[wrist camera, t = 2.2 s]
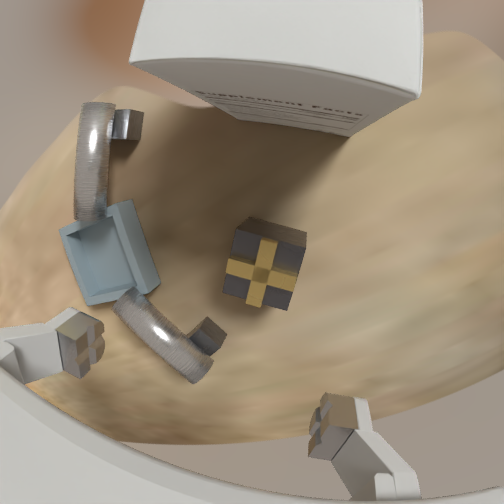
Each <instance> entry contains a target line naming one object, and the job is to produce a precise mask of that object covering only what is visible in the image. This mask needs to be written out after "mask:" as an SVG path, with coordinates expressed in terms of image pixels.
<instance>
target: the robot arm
mask: <svg viewBox="0 0 504 504" xmlns="http://www.w3.org/2000/svg"><path fill="white" fill-rule="evenodd" d="M103 332H104V324H103V323H102V322H101V321H100V320H97V319H95V318H93V317H91V316H89V315H87V314H85V313H83V312H81V311H79V310H77V309H75V308H73V307H69V308H67V309H66V310H64V311H63V312H61V313H60V314H59V315H57V316H56V317H54V318H53V319H51V320H50V321H48V322H47V323H46V324H43V323H37V324H29V325H22V326H14V327H7V328H0V504H504V487H499V486H497V487H492V488H488V489H483V490H479V491H474V492H469V493H464V494H458V495H451V496H445V497H437V498H428V499H422V497H421V492H420V488H419V483H418V478H417V474H416V472H415V471H414V470H413V469H412V468H411V467H410V466H409V465H408V464H407V463H406V462H405V461H404V460H403V459H402V458H401V457H400V456H399V455H398V454H397V453H396V451H394V449H393V448H392V447H391V446H390V445H389V444H388V443H387V442H386V441H385V440H384V439H383V438H382V437H381V436H380V435H379V434H378V433H377V432H373V427H372V422H371V417H370V412H369V407H368V402H367V400H366V399H364V398H357V397H348V396H343V395H337V394H332V393H326V392H325V393H324V395H323V396H322V398H321V400H320V407H318V408H316V409H315V411H314V413H313V415H312V418H311V421H310V426H309V434H310V435H311V436H312V438H311V439H310V441H309V446H308V457H312V458H317V459H324V460H330V461H331V463H332V464H333V466H334V468H335V469H336V471H337V473H338V474H339V476H340V478H341V479H342V481H343V483H344V484H345V486H346V487H347V489H348V491H349V492H350V494H351V496H352V498H351V499H350V500H332V499H321V498H312V497H304V496H296V495H289V494H283V493H277V492H272V491H266V490H261V489H256V488H251V487H247V486H243V485H238V484H234V483H231V482H227V481H223V480H219V479H216V478H212V477H209V476H206V475H202V474H199V473H196V472H193V471H190V470H187V469H184V468H181V467H178V466H175V465H173V464H170V463H167V462H165V461H162V460H160V459H157V458H155V457H152V456H150V455H147V454H145V453H143V452H140V451H138V450H136V449H134V448H131V447H129V446H127V445H125V444H123V443H120V442H118V441H116V440H114V439H112V438H110V437H108V436H106V435H104V434H102V433H101V432H99V431H97V430H95V429H93V428H91V427H89V426H88V425H86V424H84V423H82V422H80V421H79V420H77V419H75V418H74V417H72V416H70V415H68V414H67V413H65V412H64V411H62V410H60V409H59V408H57V407H56V406H54V405H53V404H51V403H49V402H48V401H46V400H45V399H43V398H42V397H41V396H39V395H38V394H36V393H35V392H33V391H32V390H31V389H29V388H28V387H26V386H25V384H27V383H30V382H33V381H36V380H39V379H42V378H45V377H48V376H51V375H53V374H56V373H59V372H62V371H63V370H64V371H66V372H68V373H70V374H72V375H74V376H75V377H77V378H79V379H82V378H83V376H84V375H85V374H86V373H87V372H88V371H89V370H90V364H94V363H97V362H98V361H99V360H100V359H101V357H102V355H103V353H104V349H105V341H104V339H103V337H102V335H101V334H102V333H103Z"/></svg>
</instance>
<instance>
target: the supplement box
mask: <svg viewBox="0 0 504 504" xmlns="http://www.w3.org/2000/svg"><path fill="white" fill-rule="evenodd" d="M422 7H423V6H422V0H145V2H144V6H143V9H142V13H141V16H140V19H139V23H138V27H137V31H136V34H135V39H134V42H133V46H132V51H131V55H130V59H129V64H130V65H133V66H135V67H137V68H139V69H142V70H144V71H146V72H148V73H150V74H152V75H155V76H157V77H159V78H161V79H163V80H165V81H167V82H169V83H171V84H173V85H175V86H177V87H179V88H181V89H184V90H186V91H187V92H189V93H191V94H193V95H195V96H197V97H199V98H201V99H202V100H205V101H206V102H208V103H210V104H212V105H214V106H215V107H217V108H219V109H221V110H223V111H224V112H226V113H228V114H230V115H232V116H233V117H235V118H237V119H239V120H246V121H254V122H263V123H271V124H278V125H285V126H292V127H298V128H304V129H310V130H316V131H321V132H327V133H332V134H337V135H342V136H347V137H351V136H352V135H354V134H355V133H357V132H359V131H360V130H362V129H364V128H365V127H367V126H369V125H370V124H372V123H374V122H375V121H377V120H379V119H380V118H382V117H384V116H386V115H387V114H389V113H391V112H392V111H394V110H396V109H398V108H399V107H401V106H403V105H405V104H407V103H409V102H410V101H413V100H416V99H418V98H419V97H420V95H421V86H422V68H423V8H422Z"/></svg>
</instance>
